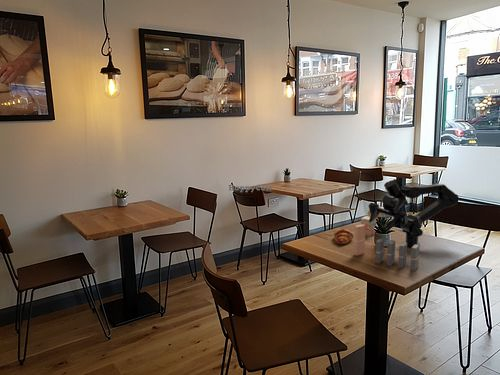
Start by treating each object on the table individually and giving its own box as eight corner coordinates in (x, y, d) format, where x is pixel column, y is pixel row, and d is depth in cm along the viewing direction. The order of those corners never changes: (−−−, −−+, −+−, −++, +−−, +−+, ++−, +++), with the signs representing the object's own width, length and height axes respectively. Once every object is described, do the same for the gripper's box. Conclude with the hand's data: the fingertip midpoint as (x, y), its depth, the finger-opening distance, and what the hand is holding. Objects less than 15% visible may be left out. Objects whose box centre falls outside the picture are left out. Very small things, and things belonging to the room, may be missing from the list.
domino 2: (379, 259, 176) (380, 238, 175) (383, 260, 175) (384, 238, 173) (375, 262, 172) (376, 241, 170) (379, 263, 171) (380, 242, 169)
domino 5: (413, 266, 167) (414, 244, 166) (418, 267, 166) (419, 244, 165) (410, 270, 163) (411, 247, 162) (414, 271, 162) (416, 248, 160)
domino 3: (390, 261, 173) (391, 240, 172) (394, 262, 172) (395, 240, 171) (386, 265, 169) (387, 243, 168) (390, 265, 168) (391, 244, 166)
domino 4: (401, 263, 170) (402, 242, 169) (406, 264, 169) (407, 242, 168) (398, 267, 166) (399, 245, 165) (402, 268, 165) (403, 246, 163)
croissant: (338, 239, 216) (332, 227, 216) (355, 232, 213) (348, 220, 213) (336, 251, 196) (329, 237, 196) (354, 244, 193) (347, 229, 193)
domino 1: (361, 252, 186) (362, 224, 183) (364, 253, 184) (365, 225, 182) (353, 254, 183) (354, 226, 180) (356, 255, 181) (357, 227, 179)
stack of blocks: (370, 236, 210) (371, 214, 208) (360, 234, 214) (360, 213, 212) (385, 227, 226) (386, 207, 224) (374, 225, 230) (375, 205, 228)
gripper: (375, 186, 188) (357, 206, 181) (412, 196, 174) (394, 218, 168) (379, 203, 194) (362, 223, 188) (414, 213, 181) (397, 236, 174)
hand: (378, 224), depth 179 cm, fingers open, 9 cm apart
